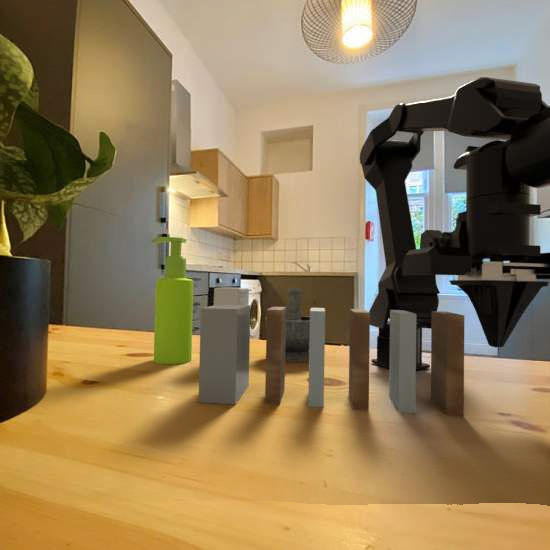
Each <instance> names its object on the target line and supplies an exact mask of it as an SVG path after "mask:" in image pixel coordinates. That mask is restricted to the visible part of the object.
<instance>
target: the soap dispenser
mask: <svg viewBox="0 0 550 550" xmlns="http://www.w3.org/2000/svg"><path fill="white" fill-rule="evenodd" d="M150 242H152V243H154V244H162V243H170V248H169V255H168V256H167V257H164V269H163V270H164V271H163V273H164V275H163V276H164V277H160V278H157V279H156V280H155V297H154V299H155V301H154V302H155V303H154V304H155V305H154V337H153V338H154V340H153V341H154V343H153V363H155V364H160V365H181V364H185V363H189V362H191V361H192V356H193V355H192V350H193V348H192V346H193V317H194V316H193V315H194V313H193V310H194V308H193V307H194V280H193V279H190V278H188V277H187V275H186V274H187V258H184V256H182V243H183V244H187V239H186V238H183V237H175V236H174V237H173V236H161V237H155V238H152V239H150Z"/></svg>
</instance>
